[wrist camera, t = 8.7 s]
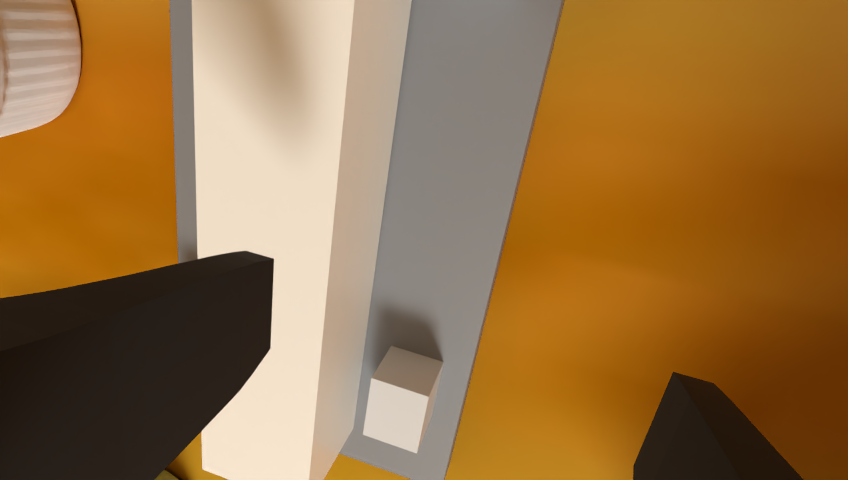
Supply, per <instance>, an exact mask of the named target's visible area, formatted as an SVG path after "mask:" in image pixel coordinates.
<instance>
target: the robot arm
mask: <svg viewBox="0 0 848 480" xmlns="http://www.w3.org/2000/svg"><path fill="white" fill-rule="evenodd" d="M273 273H274V259H273V258H270V257H266V256H263V255H259V254H256V253H252V252H249V251H238V252H231V253H225V254H220V255H215V256H210V257H205V258H201V259H196V260H192V261H187V262H183V263H179V264H174V265H170V266H166V267H161V268H157V269H153V270H148V271H144V272H140V273H136V274H131V275H127V276H122V277H117V278H112V279H107V280H102V281H97V282H92V283H87V284H82V285H77V286H73V287H68V288H63V289H57V290H51V291H46V292H40V293H33V294H27V295H21V296H14V297H6V298H0V480H155V479H156V477H157V476H158V475H159V474H160V473H161V472H162V471H163V470H164V469H165V468H166V467H167V466H168V465H169V464H170V463H171V462H172V461H173V460H174V459H175V458H176V457H177V456H178V455H179V454H180V453H181V452H182V451H183V450H184V449H185V448H186V447H187V445H188V444H189V443H190V442H191V441H192V440H193V439H194V438H195V437H196V436H197V435H198V434H199V433H200V432H201V431H202V430H203V429H204V428H205V427H206V426H207V425H208V424H209V423H210V422H211V421H212V420H213V419H214V418H215V416H216V415H217V414H218V413H219V412H220V411H221V410H222V409H223V408H224V407H225V406H226V405H227V404H228V403H229V402H230V401H231V400H232V399H233V397H234V396H235V395H236V394H237V393H238V392H239V391H240V390H241V389H242V387H243V386H244V385H245V383H246V382H247V381H248V379H249V378H250V377H251V375H252V374H253V373H254V371H255V370H256V368H257V367H258V366H259V364H260V363H261V361H262V360H263V358H264V357H265V356H266V354H267V353H268V351H269V350H270V346H271V322H272V298H273ZM633 480H803V479H802V478H801V476H800V475H799V474H798V473H797V472H796V471H795V470H794V469H793V468H792V467H791V466H790V465H789V464H788V462H787V461H786V460H785V459H784V458H783V457H782V456H781V455H780V454H779V453H778V452H777V450H776V449H775V448H774V447H773V446H772V445H771V444H770V443H769V442H768V441H767V439H766V438H765V437H764V436H763V435H762V434H761V433H760V432H759V431H758V430H757V428H756V427H755V426H754V425H753V424H752V423H751V422H750V421H749V420H748V418H747V417H746V416H745V415H744V414H743V413H742V412H741V411H740V410H739V409H738V408H737V407H736V405H735V404H734V403H733V402H732V401H731V400H730V399H729V398H728V397H727V396H726V395H725V394H724V393H723V392H722V391H721V390H720V389H719V388H718V387H717V386H716V385H715V384H714V383H710V382H707V381H703V380H700V379H696V378H693V377H689V376H686V375H682V374H679V373H675V372H673V374H672V376H671V379H670V381H669V383H668V386H667V388H666V390H665V393H664V395H663V397H662V400H661V402H660V405H659V407H658V409H657V412H656V414H655V416H654V419H653V421H652V423H651V426H650V428H649V431H648V433H647V435H646V438H645V440H644V442H643V445H642V447H641V450H640V452H639V454H638V457H637V459H636V461H635V464H634V475H633Z"/></svg>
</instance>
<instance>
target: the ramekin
mask: <svg viewBox="0 0 848 480" xmlns="http://www.w3.org/2000/svg"><path fill="white" fill-rule="evenodd" d="M80 71H81V40H80V34H79V27H78V23H77V19H76V15H75V11H74V8H73V5H72V3H71V0H0V137H3V136H7V135H11V134H15V133H18V132H22V131H26V130H29V129H33V128H36V127H38V126H41V125H43V124H46V123H48V122H50V121H52V120H53V119H55V118H56V117H57V116H59V115H60V114H61V113H62V112H63V111H64V110H65V109H66V107H67V106H68V104H69V103H70V101H71V99H72V97H73V95H74V93H75V91H76V88H77V86H78V82H79V77H80Z"/></svg>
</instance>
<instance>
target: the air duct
mask: <svg viewBox="0 0 848 480" xmlns="http://www.w3.org/2000/svg"><path fill="white" fill-rule="evenodd" d="M411 2H412V0H192V38H193V81H194V125H195V168H196V212H197V255H198V259H201V258H205V257H210V256H215V255H220V254H225V253H231V252H238V251H249V252H252V253H256V254H259V255H263V256H266V257H270V258H273V259H274V273H273V298H272V322H271V346H270V350H269V351H268V353H267V354H266V356H265V357H264V358H263V360H262V361H261V363H260V364H259V366H258V367H257V368H256V370H255V371H254V373H253V374H252V375H251V377H250V378H249V379H248V381H247V382H246V383H245V385H244V386H243V387H242V389H241V390H240V391H239V392H238V393H237V394H236V395H235V396H234V397H233V399H232V400H231V401H230V402H229V403H228V404H227V405H226V406H225V407H224V408H223V409H222V410H221V411H220V412H219V413H218V414H217V415H216V416H215V418H214V419H213V420H212V421H211V422H210V423H209V424H208V425H207V426H206V427H205V428H204V429H203V430H202V469H203V470H206V471H208V472H211V473H213V474H216V475H218V476H221V477H224V478H226V479H229V480H324V478H325V476H326V475H327V473H328V471H329V469H330V468H331V466H332V464H333V462H334V461H335V459H336V457H337V456H338V454H339V452H340V450H341V449H342V447H343V445H344V443H345V442H346V440H347V438H348V437H349V435H350V433H351V431H352V430H353V427H354V420H355V413H356V405H357V398H358V391H359V383H360V376H361V369H362V361H363V354H364V347H365V339H366V332H367V325H368V317H369V310H370V303H371V295H372V288H373V281H374V273H375V266H376V259H377V251H378V244H379V237H380V229H381V222H382V215H383V207H384V200H385V193H386V185H387V178H388V171H389V163H390V156H391V149H392V142H393V134H394V127H395V120H396V112H397V105H398V98H399V90H400V83H401V76H402V68H403V61H404V54H405V46H406V39H407V32H408V24H409V17H410V10H411Z"/></svg>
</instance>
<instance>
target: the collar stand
mask: <svg viewBox="0 0 848 480" xmlns="http://www.w3.org/2000/svg"><path fill="white" fill-rule="evenodd" d="M564 1H565V0H412V2H411V10H410V17H409V24H408V32H407V39H406V46H405V54H404V61H403V68H402V76H401V83H400V90H399V98H398V105H397V112H396V120H395V127H394V134H393V142H392V149H391V156H390V163H389V171H388V178H387V185H386V193H385V200H384V207H383V215H382V222H381V229H380V237H379V244H378V251H377V259H376V266H375V273H374V281H373V288H372V295H371V303H370V310H369V317H368V325H367V332H366V339H365V347H364V354H363V361H362V369H361V376H360V383H359V391H358V398H357V405H356V413H355V420H354V427H353V430H352V431H351V433H350V435H349V437H348V438H347V440H346V442H345V443H344V445H343V447H342V449H341V450H340V452H339V453H340V454H342V455H345V456H348V457H351V458H354V459H356V460H359V461H362V462H365V463H367V464H370V465H373V466H376V467H378V468H381V469H384V470H387V471H390V472H392V473H395V474H398V475H401V476H403V477H406V478H409V479H412V480H445V477H446V473H447V470H448V467H449V464H450V460H451V456H452V452H453V448H454V444H455V440H456V436H457V432H458V428H459V424H460V420H461V416H462V412H463V408H464V404H465V400H466V396H467V392H468V388H469V384H470V380H471V375H472V371H473V367H474V363H475V359H476V355H477V351H478V347H479V343H480V339H481V335H482V331H483V327H484V323H485V319H486V315H487V311H488V307H489V303H490V299H491V295H492V291H493V287H494V283H495V279H496V275H497V271H498V267H499V263H500V259H501V255H502V251H503V247H504V243H505V239H506V235H507V231H508V226H509V222H510V218H511V214H512V210H513V206H514V202H515V198H516V194H517V190H518V186H519V182H520V178H521V174H522V170H523V166H524V162H525V158H526V154H527V150H528V146H529V142H530V138H531V134H532V130H533V126H534V122H535V118H536V114H537V110H538V106H539V102H540V98H541V94H542V90H543V86H544V82H545V77H546V73H547V69H548V65H549V61H550V57H551V53H552V49H553V45H554V41H555V37H556V33H557V29H558V25H559V21H560V17H561V13H562V9H563V5H564ZM170 27H171V57H172V87H173V117H174V147H175V177H176V207H177V237H178V264H179V263H183V262H187V261H192V260H196V259H198V255H197V212H196V168H195V125H194V81H193V38H192V0H170Z"/></svg>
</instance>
